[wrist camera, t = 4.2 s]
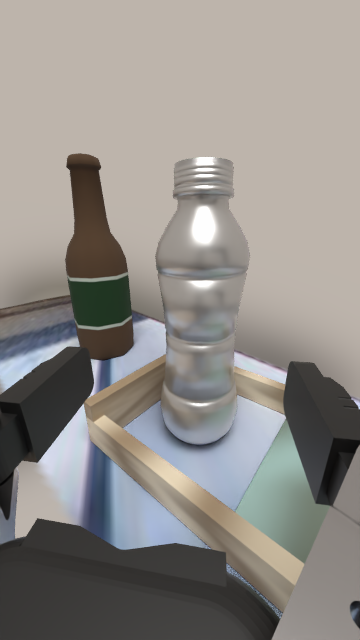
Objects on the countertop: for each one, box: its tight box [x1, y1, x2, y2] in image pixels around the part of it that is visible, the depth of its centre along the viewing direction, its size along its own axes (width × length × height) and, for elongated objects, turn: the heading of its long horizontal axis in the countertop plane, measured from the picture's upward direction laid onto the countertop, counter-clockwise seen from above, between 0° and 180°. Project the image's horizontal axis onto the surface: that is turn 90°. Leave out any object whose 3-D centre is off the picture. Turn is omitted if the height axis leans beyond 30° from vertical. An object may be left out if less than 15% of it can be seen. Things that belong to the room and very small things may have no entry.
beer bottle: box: [65, 154, 134, 360], centre depth 32 cm, size 8×8×24 cm
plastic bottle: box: [155, 157, 250, 445], centre depth 18 cm, size 6×7×20 cm
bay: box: [84, 354, 330, 612], centre depth 18 cm, size 24×14×4 cm, turn 51°
